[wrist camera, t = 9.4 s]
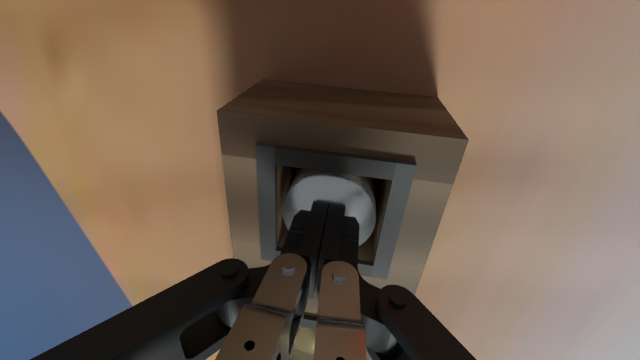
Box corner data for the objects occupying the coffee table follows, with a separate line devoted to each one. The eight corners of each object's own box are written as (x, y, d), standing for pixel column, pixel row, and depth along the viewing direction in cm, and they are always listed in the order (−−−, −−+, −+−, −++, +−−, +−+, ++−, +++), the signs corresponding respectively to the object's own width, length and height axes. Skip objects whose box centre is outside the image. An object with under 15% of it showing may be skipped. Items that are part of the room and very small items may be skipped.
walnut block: (262, 79, 17) (213, 113, 12) (438, 97, 16) (470, 143, 11) (269, 302, 28) (244, 373, 22) (377, 321, 27) (379, 400, 21)
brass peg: (299, 260, 23) (281, 324, 19) (355, 269, 23) (352, 337, 18) (298, 297, 26) (281, 362, 21) (349, 305, 25) (344, 374, 20)
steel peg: (305, 126, 18) (282, 170, 13) (380, 135, 17) (383, 183, 13) (302, 188, 20) (282, 245, 15) (368, 197, 20) (368, 258, 15)
